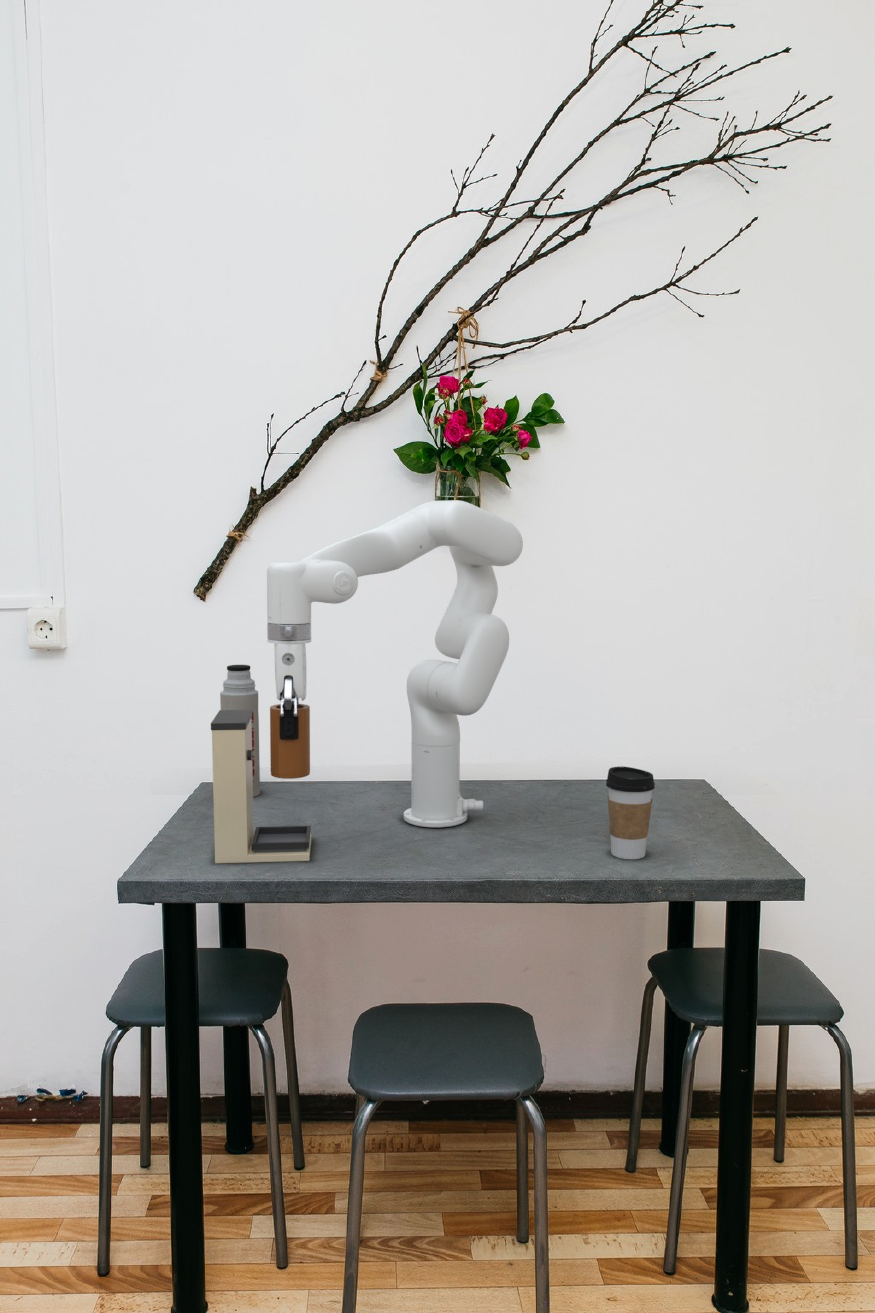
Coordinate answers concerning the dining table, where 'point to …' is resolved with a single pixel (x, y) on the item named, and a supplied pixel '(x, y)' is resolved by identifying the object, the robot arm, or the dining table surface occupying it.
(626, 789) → the coffee cup
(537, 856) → the dining table surface
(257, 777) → the thermos bottle
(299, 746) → the brown hollow cylinder
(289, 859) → the coffee maker
